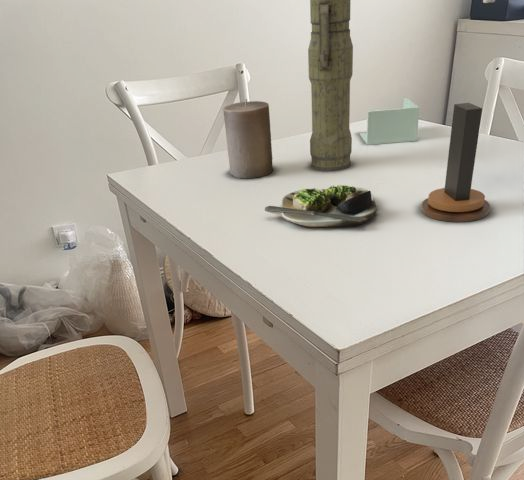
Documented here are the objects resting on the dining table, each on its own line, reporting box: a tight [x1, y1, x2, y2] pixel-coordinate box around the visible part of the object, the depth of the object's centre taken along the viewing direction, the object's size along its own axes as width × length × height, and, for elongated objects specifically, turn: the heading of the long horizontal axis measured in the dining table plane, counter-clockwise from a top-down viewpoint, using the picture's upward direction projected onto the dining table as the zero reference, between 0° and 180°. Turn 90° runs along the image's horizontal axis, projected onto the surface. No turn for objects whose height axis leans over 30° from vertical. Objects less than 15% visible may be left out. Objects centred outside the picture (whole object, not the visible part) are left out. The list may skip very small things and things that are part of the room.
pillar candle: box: [222, 98, 274, 179], centre depth 115 cm, size 10×10×15 cm
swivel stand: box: [420, 197, 491, 223], centre depth 92 cm, size 11×11×1 cm
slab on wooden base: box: [427, 102, 486, 212], centre depth 87 cm, size 9×9×15 cm
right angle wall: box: [359, 97, 420, 146], centre depth 134 cm, size 12×12×8 cm
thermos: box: [307, 0, 354, 172], centre depth 109 cm, size 9×12×35 cm
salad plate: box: [264, 184, 378, 228], centre depth 94 cm, size 19×18×5 cm
